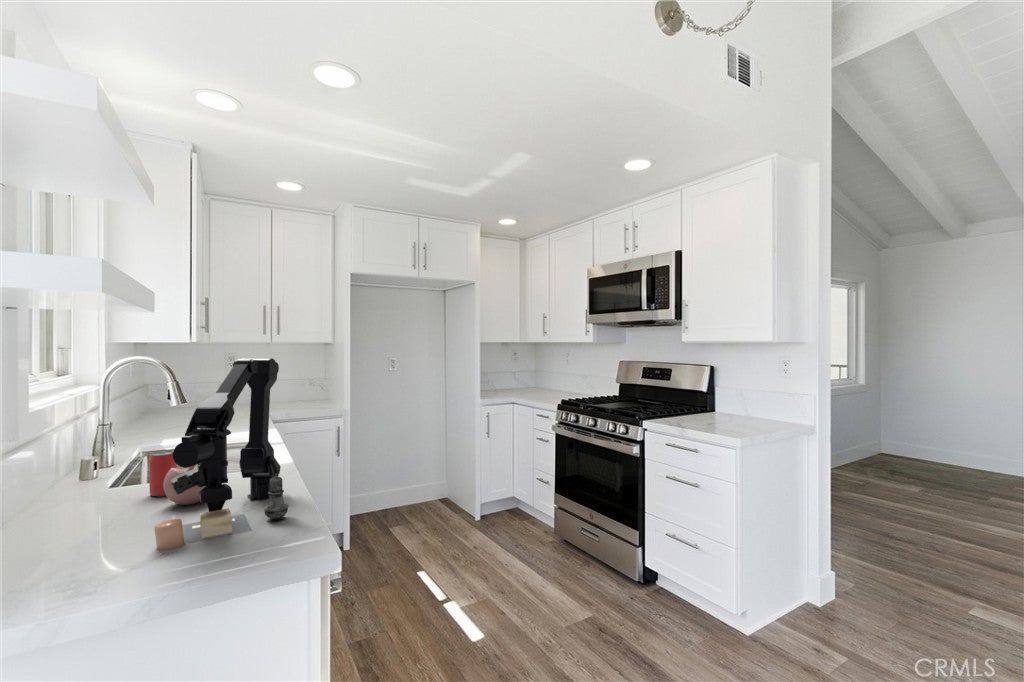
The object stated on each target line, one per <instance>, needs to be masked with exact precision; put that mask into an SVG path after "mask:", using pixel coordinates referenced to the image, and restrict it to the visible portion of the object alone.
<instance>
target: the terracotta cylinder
mask: <svg viewBox="0 0 1024 682" xmlns="http://www.w3.org/2000/svg"><path fill="white" fill-rule="evenodd" d="M182 525H183V521H182V519H181V518H173V519H169V520H165V521H164V520H163V521H162V522H160V523H157V524H155V525H154V528H153V531H154V536H155V543H156V544H155V546H156V549H157V550H159V551H169V550H174V549H177V548H180V547H182V546H183V545H185V544H184V535H183V527H182Z"/></svg>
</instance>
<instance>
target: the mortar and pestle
mask: <svg viewBox="0 0 1024 682" xmlns="http://www.w3.org/2000/svg"><path fill="white" fill-rule="evenodd" d="M196 466H198V464H196V465H194V466H191V467H188V469H187V470H184V469H180V468H178V467H177V468H171V469H170V470H169V472H168V473H167V475H166V477H165V479H164V485H163V486H164V491H165V494H166V496H165V497H167V498H168V499H169V500H170V501H172V503H175V504H176V505H177V504H178V505H182V506H183V505H184V506H189V505H194V504H197V503H199V502H200V497H199V496H200V495H199V491H201V490H202V489H203V487H197V485H196V486H194V487H192V488H190V489H188V490H186V491H184V492H183V493H181V494H178V495H177V494H176V492H175V490H174V488H173V486H172V484H171V479H172V478H174V477H176V476H178V475H181V474H183V473H185V472H187V471H190V470H193V469H195V468H196Z"/></svg>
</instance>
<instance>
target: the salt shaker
mask: <svg viewBox="0 0 1024 682" xmlns="http://www.w3.org/2000/svg"><path fill="white" fill-rule="evenodd" d="M284 493H285V490H284V489H283V478H282V477H280V476H277V474H275V477H273V478H271V479H270V491H269V492H268V494H270V498H269V503H268V505H266V506H264V507H263V511H264V514H265V516H266V517H267V518H268V519H267V520H266V523H270V524H277V523H281V522H284V521H286V520H287V517H286V514H287V513H288V511H289V507H290V504H289V503H285V501H284Z"/></svg>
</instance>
